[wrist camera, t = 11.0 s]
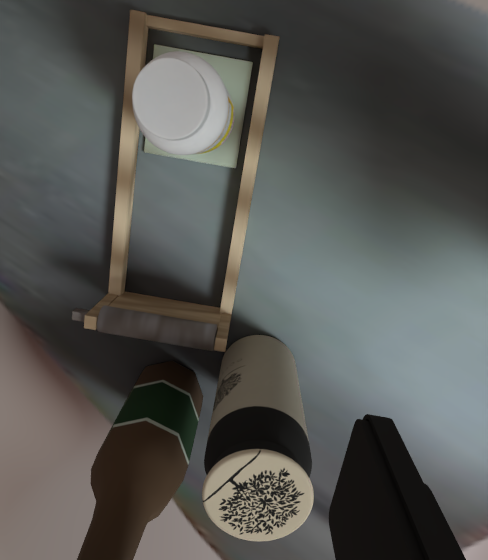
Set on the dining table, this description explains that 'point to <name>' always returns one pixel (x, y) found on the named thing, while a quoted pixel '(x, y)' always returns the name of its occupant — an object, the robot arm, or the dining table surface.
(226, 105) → the supplement bottle
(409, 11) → the dining table surface
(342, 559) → the robot arm
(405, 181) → the dining table surface
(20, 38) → the dining table surface
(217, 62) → the frame
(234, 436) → the travel mug
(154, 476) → the beer bottle
